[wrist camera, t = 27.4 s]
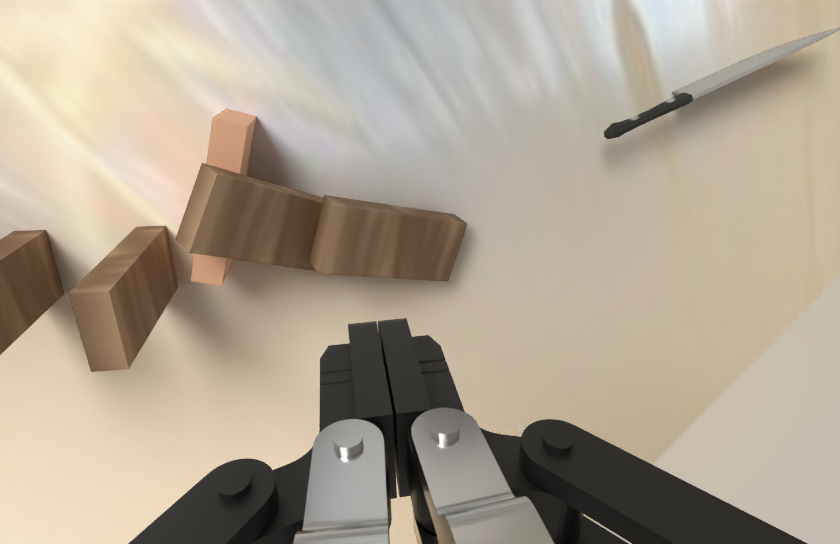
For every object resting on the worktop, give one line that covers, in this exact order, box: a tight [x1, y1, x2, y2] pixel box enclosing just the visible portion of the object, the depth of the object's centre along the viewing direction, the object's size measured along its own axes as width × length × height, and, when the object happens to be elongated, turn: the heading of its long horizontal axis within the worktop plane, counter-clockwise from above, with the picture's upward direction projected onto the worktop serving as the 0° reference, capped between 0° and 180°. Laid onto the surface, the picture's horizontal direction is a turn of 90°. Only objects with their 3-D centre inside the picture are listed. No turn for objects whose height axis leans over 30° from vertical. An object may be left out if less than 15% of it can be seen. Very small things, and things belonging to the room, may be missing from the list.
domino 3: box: [191, 109, 257, 286], centre depth 35 cm, size 2×5×11 cm
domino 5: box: [310, 195, 467, 281], centre depth 38 cm, size 2×5×11 cm
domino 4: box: [176, 163, 324, 271], centre depth 34 cm, size 2×5×11 cm
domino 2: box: [68, 226, 178, 372], centre depth 33 cm, size 2×5×11 cm, turn 179°
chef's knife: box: [604, 28, 840, 139], centre depth 39 cm, size 19×1×3 cm, turn 112°
